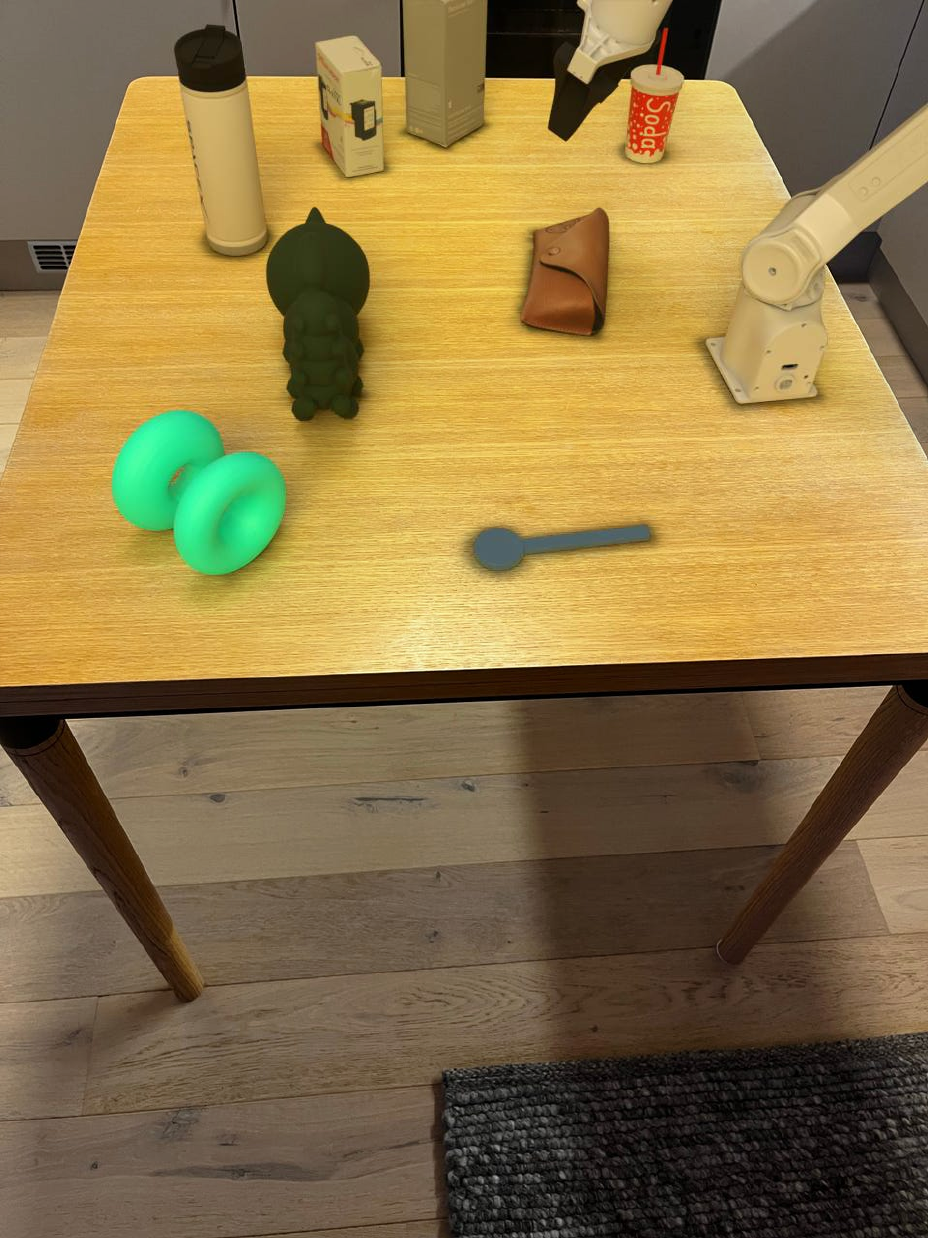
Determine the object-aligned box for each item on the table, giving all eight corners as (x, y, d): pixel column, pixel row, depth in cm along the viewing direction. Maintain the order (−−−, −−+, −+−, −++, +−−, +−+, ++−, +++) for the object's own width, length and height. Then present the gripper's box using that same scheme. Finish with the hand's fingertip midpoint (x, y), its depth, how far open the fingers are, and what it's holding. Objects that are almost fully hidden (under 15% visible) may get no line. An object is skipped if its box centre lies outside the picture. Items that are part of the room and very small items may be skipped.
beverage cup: (613, 160, 120) (633, 34, 109) (623, 137, 124) (643, 13, 113) (664, 170, 119) (689, 43, 108) (672, 146, 123) (697, 22, 112)
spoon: (654, 553, 81) (656, 547, 80) (478, 573, 79) (479, 567, 78) (640, 517, 83) (642, 511, 83) (469, 536, 81) (469, 530, 81)
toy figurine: (382, 463, 89) (367, 278, 102) (377, 287, 73) (360, 96, 86) (275, 468, 88) (274, 281, 101) (245, 291, 72) (249, 97, 85)
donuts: (215, 475, 85) (195, 380, 77) (300, 533, 81) (287, 439, 73) (120, 541, 80) (88, 446, 72) (205, 605, 76) (181, 513, 68)
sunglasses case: (529, 226, 109) (566, 178, 105) (580, 260, 112) (618, 215, 107) (517, 325, 98) (559, 276, 94) (574, 360, 101) (617, 315, 96)
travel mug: (274, 225, 109) (249, 26, 93) (260, 259, 105) (232, 56, 89) (217, 220, 109) (183, 20, 93) (201, 254, 105) (163, 51, 89)
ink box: (320, 144, 120) (312, 38, 111) (358, 137, 122) (353, 32, 112) (346, 178, 115) (339, 71, 106) (385, 171, 117) (382, 64, 108)
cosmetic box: (446, 150, 120) (448, 4, 108) (399, 131, 123) (397, -13, 110) (487, 124, 125) (495, -18, 112) (442, 106, 127) (444, -35, 115)
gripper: (641, -93, 83) (573, 54, 94) (568, -29, 75) (503, 124, 86) (711, -43, 83) (634, 99, 94) (645, 27, 75) (570, 171, 87)
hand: (576, 114), depth 90 cm, fingers open, 7 cm apart
